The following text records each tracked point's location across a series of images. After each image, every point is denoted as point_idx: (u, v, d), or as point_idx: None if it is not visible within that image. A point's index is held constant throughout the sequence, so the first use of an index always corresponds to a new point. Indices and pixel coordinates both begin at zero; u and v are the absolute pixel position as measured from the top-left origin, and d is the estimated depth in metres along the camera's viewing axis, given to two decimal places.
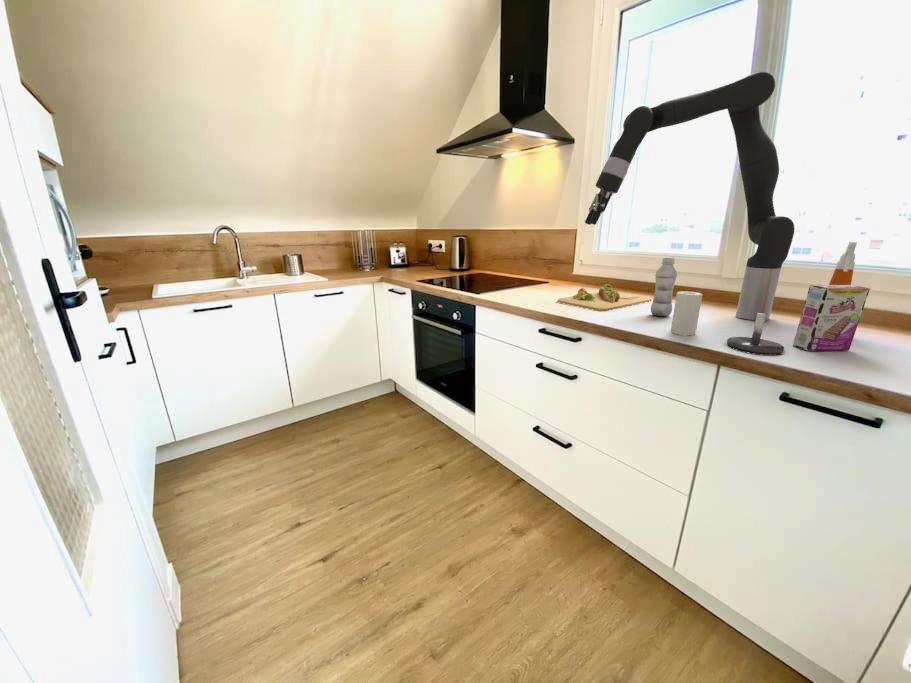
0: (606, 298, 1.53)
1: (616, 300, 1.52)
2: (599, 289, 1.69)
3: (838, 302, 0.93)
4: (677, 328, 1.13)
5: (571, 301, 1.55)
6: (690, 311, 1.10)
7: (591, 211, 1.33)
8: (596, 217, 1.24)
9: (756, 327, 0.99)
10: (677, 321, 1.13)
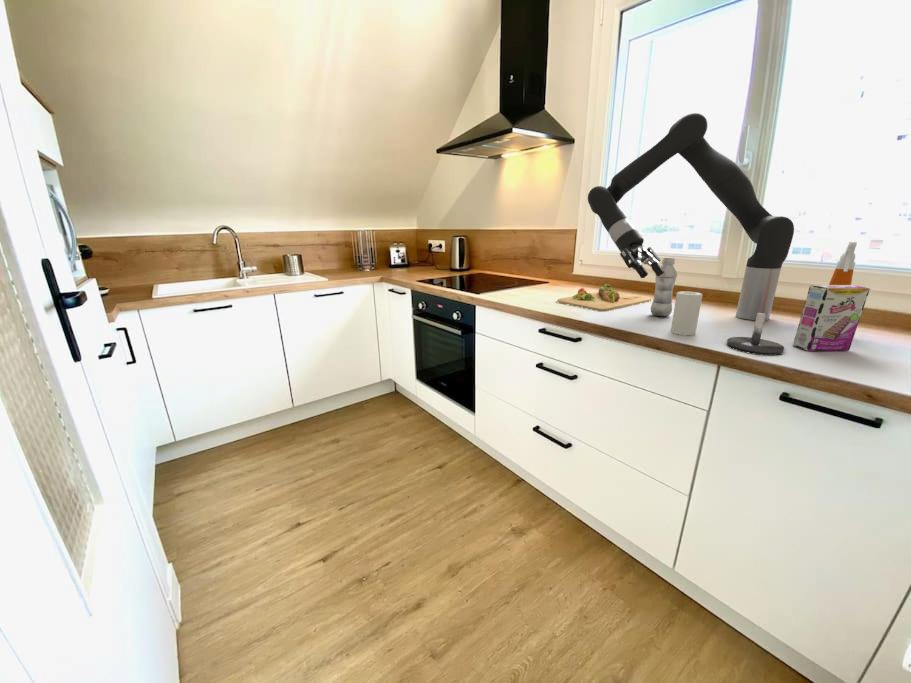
0: (606, 298, 1.53)
1: (616, 300, 1.52)
2: (599, 289, 1.69)
3: (838, 302, 0.93)
4: (677, 328, 1.13)
5: (571, 301, 1.55)
6: (690, 311, 1.10)
7: (652, 265, 1.24)
8: (639, 270, 1.18)
9: (756, 327, 0.99)
10: (677, 321, 1.13)
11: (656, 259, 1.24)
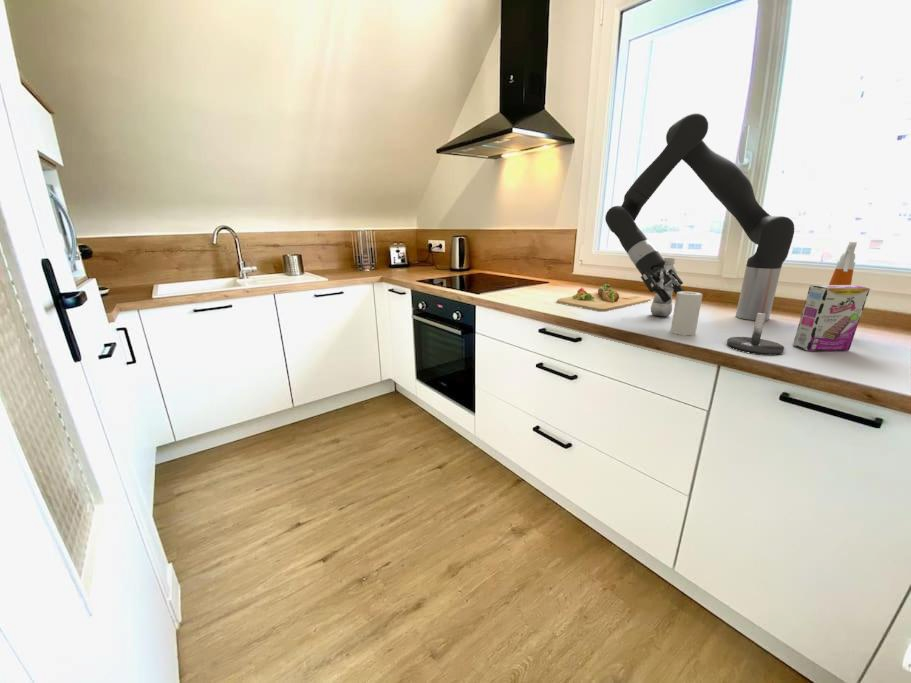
0: (606, 298, 1.53)
1: (616, 300, 1.52)
2: None
3: (838, 302, 0.93)
4: (677, 328, 1.13)
5: (571, 301, 1.55)
6: (690, 311, 1.10)
7: (674, 288, 1.19)
8: (662, 295, 1.13)
9: (756, 327, 0.99)
10: (677, 321, 1.13)
11: (678, 282, 1.19)
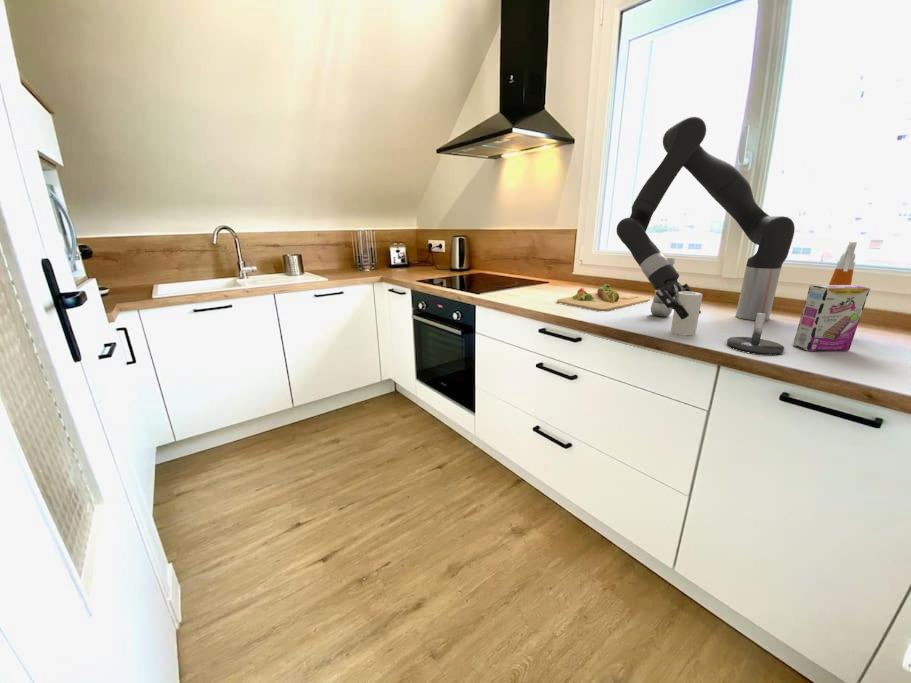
0: (606, 298, 1.53)
1: (616, 300, 1.52)
2: (598, 289, 1.69)
3: (838, 302, 0.93)
4: (677, 328, 1.13)
5: (571, 301, 1.54)
6: (690, 311, 1.10)
7: None
8: (679, 311, 1.10)
9: (756, 327, 0.99)
10: (677, 321, 1.13)
11: None
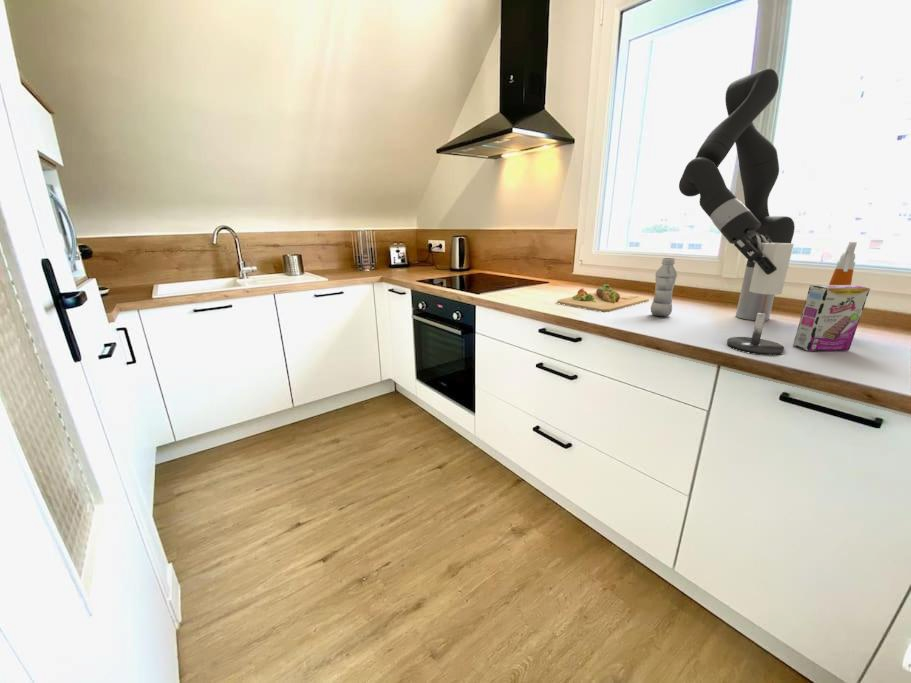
0: (606, 298, 1.53)
1: (616, 300, 1.52)
2: (597, 289, 1.68)
3: (838, 302, 0.93)
4: (760, 286, 0.95)
5: (572, 302, 1.53)
6: (778, 264, 0.92)
7: None
8: (765, 265, 0.92)
9: (756, 327, 0.99)
10: (759, 277, 0.95)
11: None
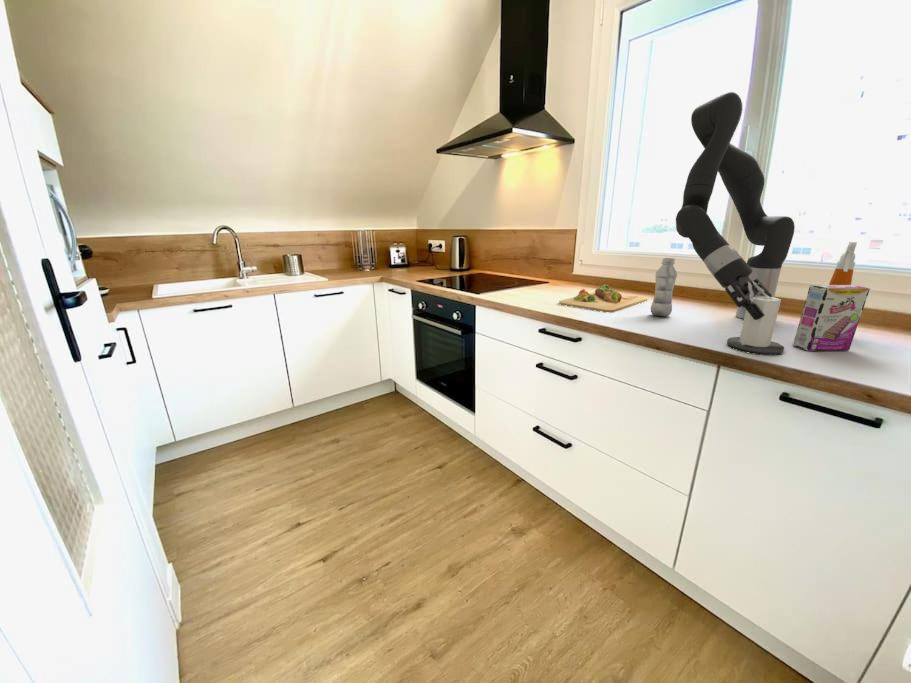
0: (608, 299, 1.52)
1: (618, 301, 1.51)
2: (595, 290, 1.68)
3: (838, 302, 0.93)
4: (749, 338, 0.99)
5: (574, 303, 1.52)
6: (767, 319, 0.96)
7: None
8: (753, 311, 0.95)
9: None
10: (749, 330, 0.98)
11: None
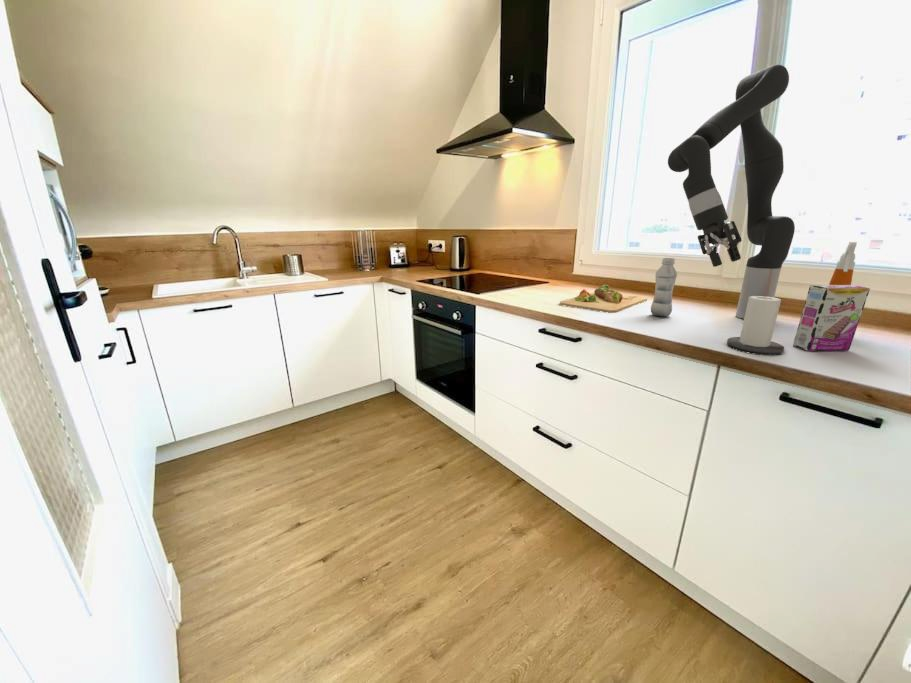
0: (609, 299, 1.51)
1: (619, 301, 1.51)
2: (595, 290, 1.67)
3: (838, 302, 0.93)
4: (749, 338, 0.99)
5: (576, 303, 1.51)
6: (767, 319, 0.96)
7: (711, 253, 1.12)
8: (736, 252, 1.02)
9: None
10: (749, 330, 0.98)
11: (711, 248, 1.14)
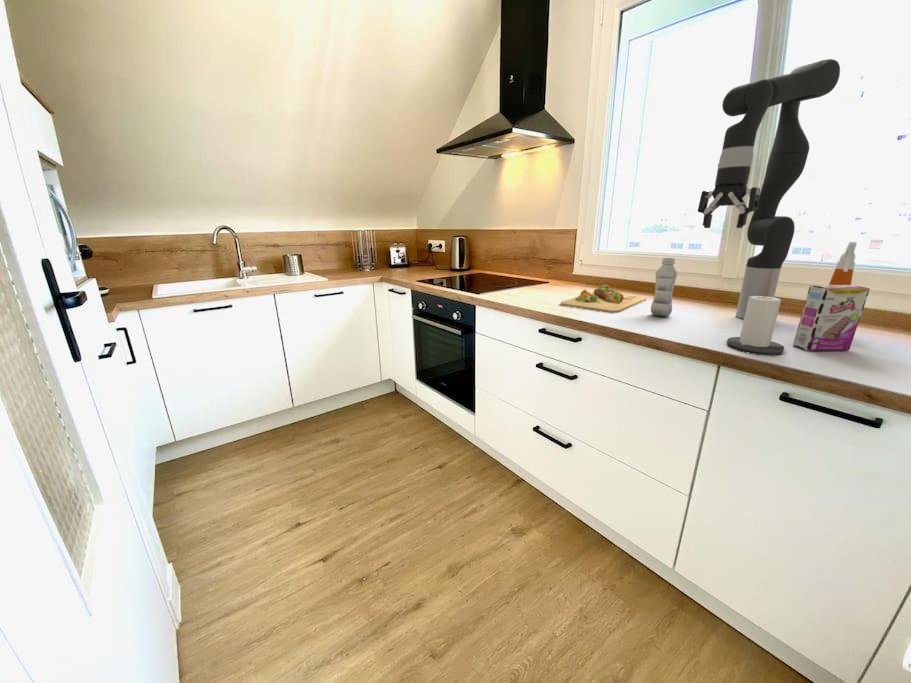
0: (610, 299, 1.51)
1: (620, 301, 1.51)
2: (594, 290, 1.67)
3: (838, 302, 0.93)
4: (749, 338, 0.99)
5: (577, 304, 1.50)
6: (767, 319, 0.96)
7: (709, 213, 1.12)
8: (745, 219, 1.05)
9: None
10: (749, 330, 0.98)
11: (705, 208, 1.14)
